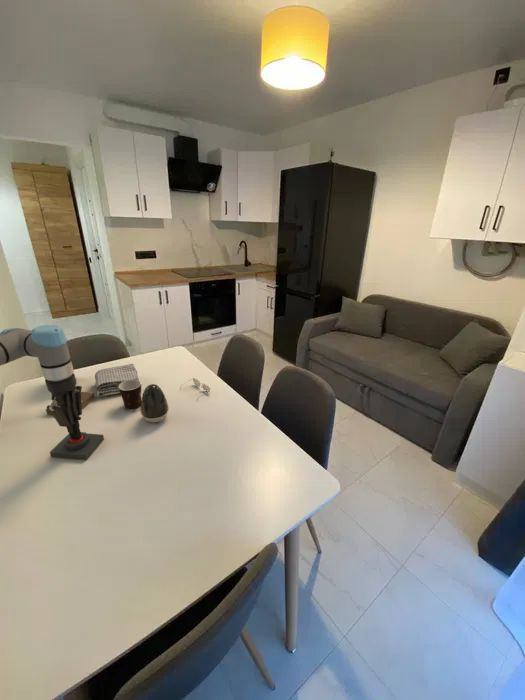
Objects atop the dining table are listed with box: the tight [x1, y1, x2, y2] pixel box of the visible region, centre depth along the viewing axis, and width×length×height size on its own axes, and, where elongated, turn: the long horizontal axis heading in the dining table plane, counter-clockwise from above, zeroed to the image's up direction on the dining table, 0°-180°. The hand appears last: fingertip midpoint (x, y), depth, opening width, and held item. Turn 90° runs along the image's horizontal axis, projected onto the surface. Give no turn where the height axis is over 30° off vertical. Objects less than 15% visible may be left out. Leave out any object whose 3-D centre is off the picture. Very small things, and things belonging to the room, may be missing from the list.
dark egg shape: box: [140, 383, 170, 423], centre depth 112 cm, size 10×10×15 cm
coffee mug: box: [118, 379, 142, 411], centre depth 119 cm, size 12×9×10 cm
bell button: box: [69, 435, 84, 444], centre depth 97 cm, size 4×4×2 cm
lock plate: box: [45, 391, 96, 416], centre depth 120 cm, size 14×11×3 cm
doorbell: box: [49, 431, 105, 461], centre depth 98 cm, size 12×10×4 cm
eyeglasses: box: [179, 377, 211, 401], centre depth 134 cm, size 14×8×4 cm, turn 49°
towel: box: [94, 363, 143, 398], centre depth 134 cm, size 15×18×8 cm
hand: (76, 437), depth 97 cm, fingers closed
